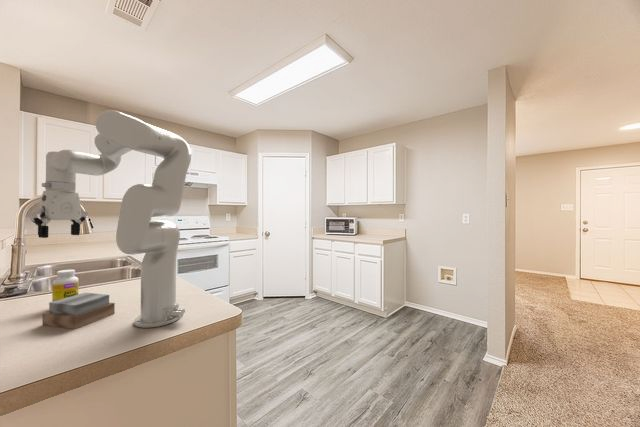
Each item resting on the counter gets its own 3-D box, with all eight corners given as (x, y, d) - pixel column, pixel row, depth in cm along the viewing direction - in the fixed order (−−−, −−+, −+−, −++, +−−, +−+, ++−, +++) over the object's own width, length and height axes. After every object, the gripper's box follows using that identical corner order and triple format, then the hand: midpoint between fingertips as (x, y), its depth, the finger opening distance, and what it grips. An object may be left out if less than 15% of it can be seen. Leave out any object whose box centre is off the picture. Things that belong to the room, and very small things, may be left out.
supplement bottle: (61, 311, 89) (62, 273, 89) (46, 309, 90) (47, 272, 90) (83, 304, 96) (83, 269, 95) (69, 302, 97) (69, 268, 97)
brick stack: (114, 313, 88) (114, 294, 88) (74, 329, 76) (74, 306, 76) (85, 310, 90) (85, 291, 90) (42, 325, 78) (42, 303, 78)
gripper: (38, 185, 83) (38, 239, 83) (94, 189, 100) (94, 234, 100) (20, 185, 85) (19, 238, 85) (78, 189, 102) (78, 233, 102)
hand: (60, 236), depth 93 cm, fingers open, 9 cm apart
